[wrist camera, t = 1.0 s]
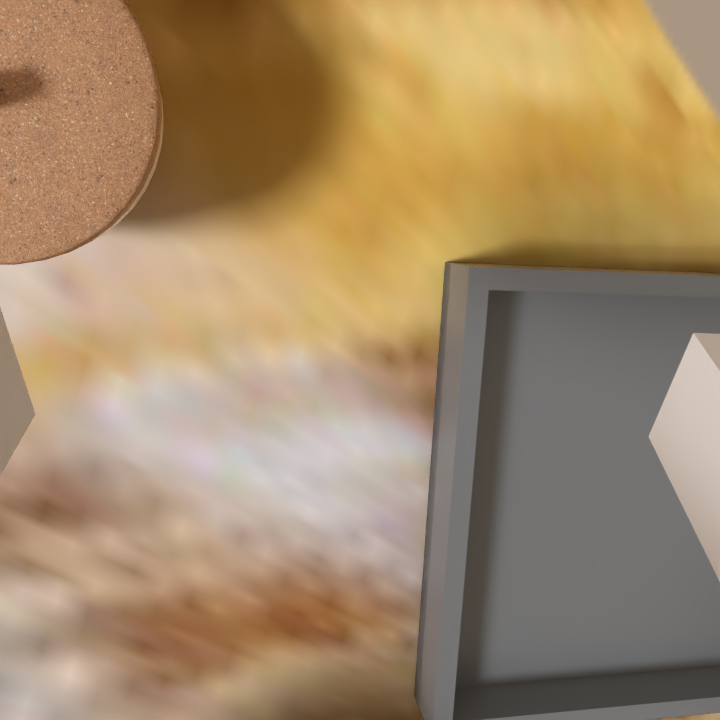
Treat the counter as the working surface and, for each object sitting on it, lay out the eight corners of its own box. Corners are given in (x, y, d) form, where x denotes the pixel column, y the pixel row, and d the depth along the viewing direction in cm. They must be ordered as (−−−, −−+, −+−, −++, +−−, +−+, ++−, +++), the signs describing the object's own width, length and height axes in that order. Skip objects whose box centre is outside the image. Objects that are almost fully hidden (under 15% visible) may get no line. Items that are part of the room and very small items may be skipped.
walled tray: (784, 662, 42) (832, 701, 39) (414, 694, 37) (432, 741, 34) (856, 278, 37) (919, 284, 34) (445, 262, 33) (469, 266, 29)
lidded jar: (-63, 264, 29) (-198, 283, 20) (-117, -8, 26) (-299, -128, 17) (192, 245, 30) (175, 254, 21) (161, -12, 28) (127, -123, 19)
